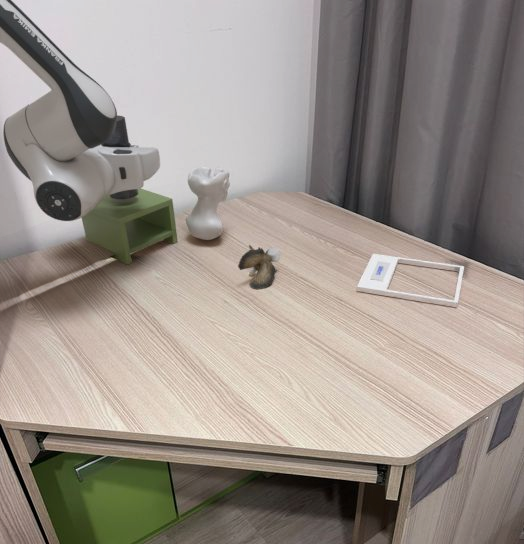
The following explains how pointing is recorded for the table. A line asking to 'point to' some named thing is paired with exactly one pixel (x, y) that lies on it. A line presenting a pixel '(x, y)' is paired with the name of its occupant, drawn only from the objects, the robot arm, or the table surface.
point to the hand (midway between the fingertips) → (117, 149)
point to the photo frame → (382, 273)
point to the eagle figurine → (260, 265)
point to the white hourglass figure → (207, 201)
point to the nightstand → (131, 223)
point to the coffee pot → (121, 141)
